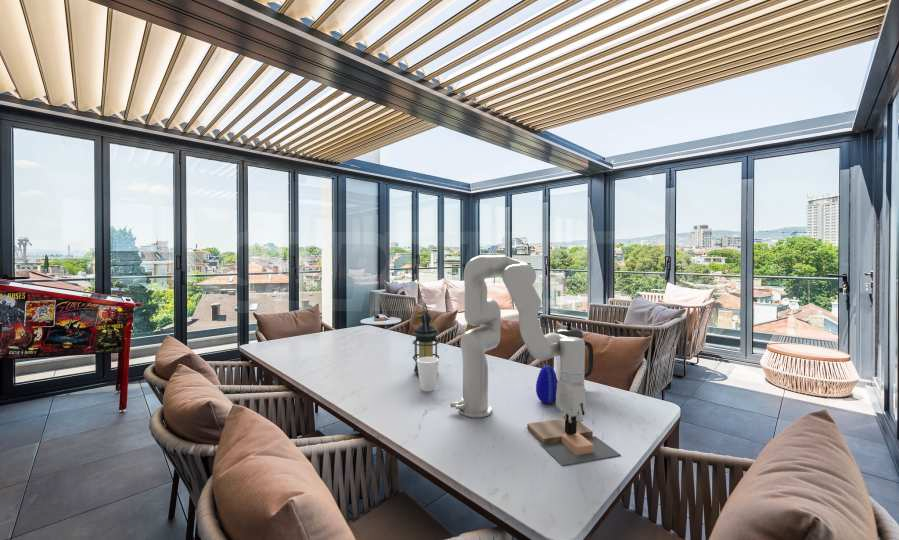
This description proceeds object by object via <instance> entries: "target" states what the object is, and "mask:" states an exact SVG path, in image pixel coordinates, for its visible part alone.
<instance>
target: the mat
mask: <svg viewBox="0 0 899 540" xmlns="http://www.w3.org/2000/svg"><path fill="white" fill-rule="evenodd" d="M586 439H587V440H588V441H590V442H591V443H592V444H593V445H594V448H593V453H586V454H580V455H575V454H574V453H573V452H572V451H571V450H570V449H569V448H567V447H566V446H565V445H564V444H563V443H562V442H554V443H548V444H542V443H541V444H540V446H541V447H542V448H543V449H544V450H545V451H546V452H547V453H548V454H549V455H550V456H551V457H552V458H553V459H554V460H555V461H557V463H558V464H560V465H561V467H565V466H571V465H577V464H582V463H588V462H593V461H594V462H595V461H600V460H604V459H610V458H616V457H621V453H619V452H618V451H616V449H614V448H612V447H610V445H608V444H607V443H606V442H604V441H603V440H601V439H600V438H598V437H597V436H596V435H595V436H594V435H593V437H586Z"/></svg>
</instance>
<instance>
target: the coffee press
mask: <svg viewBox="0 0 899 540" xmlns="http://www.w3.org/2000/svg"><path fill="white" fill-rule="evenodd" d="M572 326H573V325H572V322H570V321H569V322H566V325H565V326H563V327H557V328H556V329H555V330H554V332H553V333H558V334H561V335H564V336H567V337H577V338H580V339H582V340H583V341H584V342H585V347H587V348H588V363H587V370H586V371H584V378H587V377H589V376H590V375H591V374H592V372H593V369H594V348H593V345H592V344H591V342H589V341H585V340H584V339H585V334H584V332H583V331H582V330H581V329H579V328H577V327H572ZM552 368H553V369H554V371H555V373H556V377H557V380H558V379H559V374H560V356H555V357H553V367H552ZM585 392H586V389H585Z"/></svg>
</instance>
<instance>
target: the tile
mask: <svg viewBox="0 0 899 540" xmlns="http://www.w3.org/2000/svg"><path fill="white" fill-rule="evenodd" d="M561 442H562V443H563V444H564V445H565V446H566V447H567V448H569V449H570V450H571V451H572V452H573V453H574V454H575V455H580V454H586V453H593V448H594V445H593V444H592V443H591V442H590V441H588V440H587V439H586V438H584V437H583V436H582V435H581V434H579V433H576V434H571V435H568V434H564V435H562V439H561Z"/></svg>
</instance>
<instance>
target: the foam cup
mask: <svg viewBox="0 0 899 540" xmlns="http://www.w3.org/2000/svg"><path fill="white" fill-rule="evenodd" d="M417 358H418V359H417V366H418V373H419V374H418V373H417V374H418V380H419V387H420V390H421V391H423V392H433V391H434V390H435V389H436V385H437V378H438V377H437V375H438V370H437V369H438V367H439V363H440V362H439V359H438V358H435V357H434V356H433V357H421V358H419V357H417ZM432 390H433V391H432Z"/></svg>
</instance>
